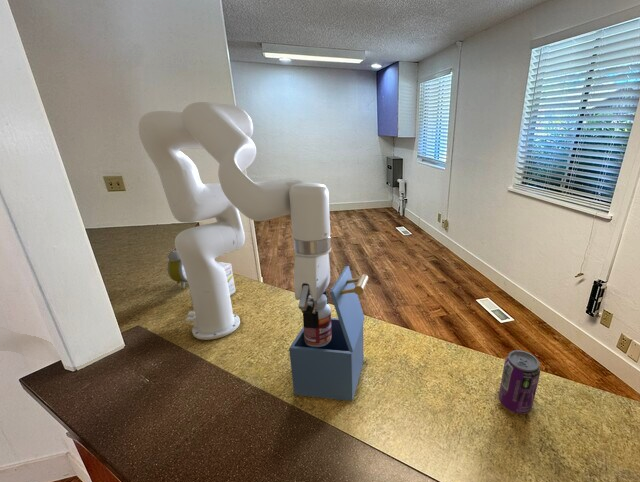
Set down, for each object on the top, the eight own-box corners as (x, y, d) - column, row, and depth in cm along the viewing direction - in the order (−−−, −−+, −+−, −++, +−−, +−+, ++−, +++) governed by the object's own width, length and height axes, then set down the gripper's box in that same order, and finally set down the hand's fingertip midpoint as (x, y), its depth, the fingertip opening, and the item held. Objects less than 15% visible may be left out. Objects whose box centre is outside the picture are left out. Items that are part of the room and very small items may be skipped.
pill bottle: (323, 351, 67) (321, 308, 64) (299, 345, 69) (295, 302, 65) (336, 335, 73) (335, 294, 69) (313, 329, 75) (311, 289, 71)
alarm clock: (185, 290, 113) (176, 253, 108) (167, 290, 113) (157, 252, 108) (204, 277, 124) (197, 242, 119) (187, 276, 124) (179, 242, 119)
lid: (329, 291, 59) (356, 287, 58) (345, 266, 71) (368, 262, 70) (349, 352, 63) (375, 349, 62) (361, 318, 75) (383, 315, 74)
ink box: (219, 303, 105) (214, 272, 101) (198, 300, 107) (192, 269, 103) (236, 291, 113) (231, 262, 109) (216, 289, 115) (211, 260, 111)
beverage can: (528, 422, 64) (539, 376, 60) (494, 406, 67) (502, 362, 63) (533, 399, 69) (544, 356, 65) (502, 386, 73) (509, 344, 69)
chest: (293, 394, 69) (288, 348, 65) (313, 357, 81) (310, 315, 76) (352, 401, 68) (351, 354, 63) (363, 362, 79) (363, 320, 75)
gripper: (309, 231, 71) (314, 298, 77) (275, 258, 55) (284, 340, 61) (341, 233, 71) (342, 300, 77) (315, 261, 54) (320, 344, 61)
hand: (316, 317), depth 69 cm, fingers closed on pill bottle, 6 cm apart
